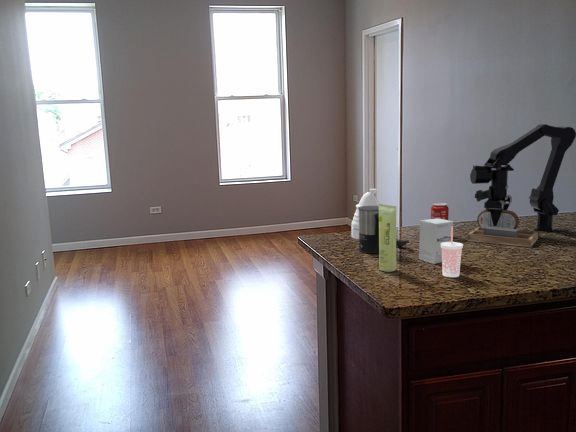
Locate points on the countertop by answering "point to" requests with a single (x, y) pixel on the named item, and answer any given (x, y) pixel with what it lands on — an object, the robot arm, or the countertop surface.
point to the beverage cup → (451, 257)
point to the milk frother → (371, 230)
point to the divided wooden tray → (504, 238)
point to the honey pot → (366, 200)
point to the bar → (501, 232)
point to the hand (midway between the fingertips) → (497, 223)
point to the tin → (505, 221)
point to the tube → (387, 238)
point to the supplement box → (433, 239)
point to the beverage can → (439, 211)
